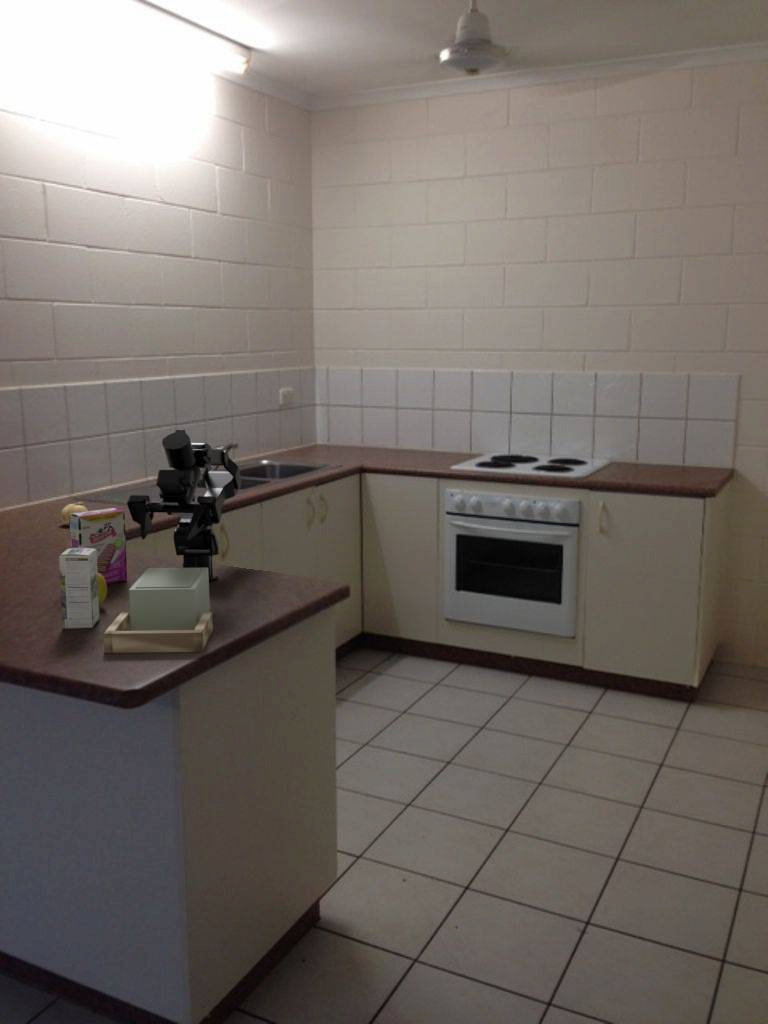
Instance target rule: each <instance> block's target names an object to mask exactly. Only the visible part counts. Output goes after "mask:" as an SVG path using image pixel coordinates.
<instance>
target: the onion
mask: <svg viewBox="0 0 768 1024" xmlns="http://www.w3.org/2000/svg"><path fill="white" fill-rule="evenodd" d="M86 511H89V510H88V508H87V507H86V506H84V503H83V502H82V500H80V501H79V502H75V503H69V504H67V505H65V507H63V509H62V510H61V512H60V520H61V522H62V523H63V524H64V525H66V526H68V527H70V520H69V514H71V513H78V512H86Z"/></svg>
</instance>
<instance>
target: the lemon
mask: <svg viewBox="0 0 768 1024" xmlns="http://www.w3.org/2000/svg"><path fill="white" fill-rule="evenodd" d="M98 592H99V605H100V604H102V603H103V602H104V601H105V599H106V597H107V595H108V594H107V593H108V584H106V581H105V579H104V577H103V576H102V575H101V574H100V573H98Z"/></svg>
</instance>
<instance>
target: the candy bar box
mask: <svg viewBox="0 0 768 1024" xmlns="http://www.w3.org/2000/svg"><path fill="white" fill-rule="evenodd" d="M125 517H126V516H125V510H123V509H119V508H117V507H112V508H111V507H110V508H103V509H102V508H101V509H95V510H88V511H86V512H78V513H71V514H69V520H70V524H69V525H70V526H69V531H70V532H69V535H70V536H69V537H70V548H92V549H96V550H97V571H98V573H100V574H101V575H102V576H103V577H104V579H105V581H106V584H107V585H111V584H115V583H120V582H127V581H128V571H127V569H128V567H127V547H126V546H127V545H126V539H127V538H126V518H125Z"/></svg>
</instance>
